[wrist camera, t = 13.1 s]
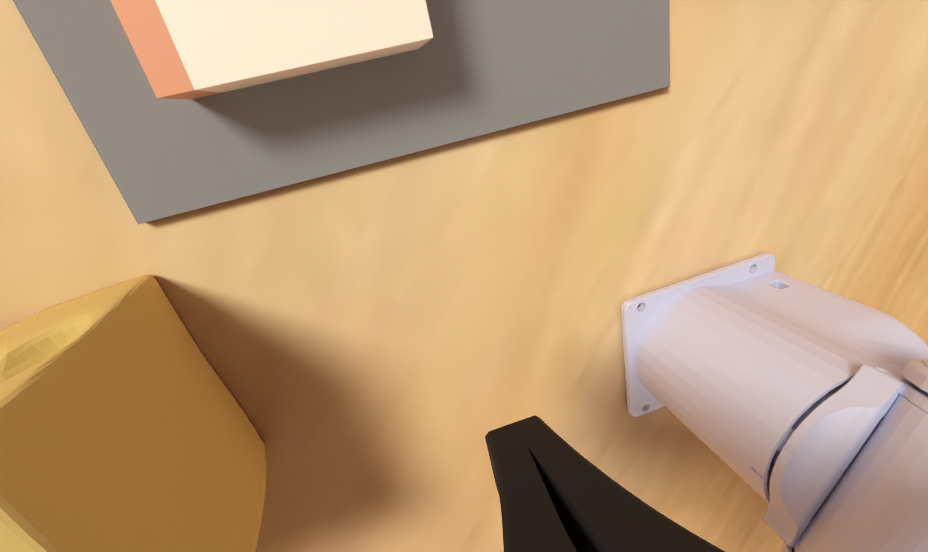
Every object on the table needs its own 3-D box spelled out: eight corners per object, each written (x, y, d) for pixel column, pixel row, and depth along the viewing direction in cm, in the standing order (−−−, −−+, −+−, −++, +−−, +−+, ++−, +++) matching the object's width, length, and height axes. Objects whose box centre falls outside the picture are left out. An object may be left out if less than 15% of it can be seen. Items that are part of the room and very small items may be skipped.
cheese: (-143, 357, 15) (-847, 723, 6) (167, 257, 17) (-39, 436, 8) (51, 538, 20) (-197, 906, 11) (284, 446, 21) (240, 702, 12)
